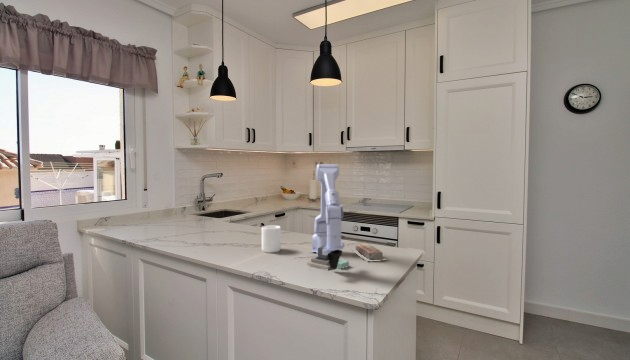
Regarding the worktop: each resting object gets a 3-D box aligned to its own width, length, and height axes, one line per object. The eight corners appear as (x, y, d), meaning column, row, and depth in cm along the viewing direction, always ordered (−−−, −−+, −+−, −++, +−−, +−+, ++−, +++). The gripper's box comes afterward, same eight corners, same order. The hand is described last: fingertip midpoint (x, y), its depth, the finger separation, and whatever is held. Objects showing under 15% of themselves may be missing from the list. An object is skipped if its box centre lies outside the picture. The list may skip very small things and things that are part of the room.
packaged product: (387, 251, 136) (366, 252, 134) (387, 261, 137) (366, 263, 134) (370, 241, 154) (351, 242, 151) (369, 250, 154) (351, 251, 152)
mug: (270, 254, 145) (270, 230, 144) (254, 249, 153) (254, 226, 152) (284, 250, 152) (284, 226, 152) (268, 245, 160) (268, 223, 159)
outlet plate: (307, 265, 130) (307, 259, 129) (322, 258, 140) (322, 252, 139) (327, 270, 124) (327, 263, 124) (341, 262, 134) (341, 256, 134)
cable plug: (334, 267, 128) (334, 262, 127) (343, 264, 132) (343, 259, 131) (341, 270, 125) (341, 264, 125) (350, 266, 129) (350, 260, 129)
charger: (317, 261, 131) (317, 247, 131) (322, 259, 134) (322, 245, 134) (325, 263, 129) (325, 249, 128) (330, 260, 132) (330, 247, 132)
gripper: (333, 240, 113) (333, 276, 114) (351, 232, 125) (350, 265, 126) (317, 237, 117) (317, 272, 118) (336, 230, 129) (335, 262, 130)
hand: (333, 268), depth 122 cm, fingers closed
